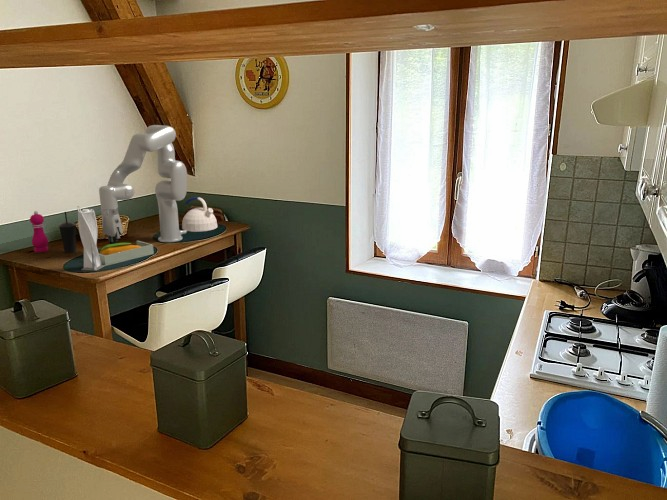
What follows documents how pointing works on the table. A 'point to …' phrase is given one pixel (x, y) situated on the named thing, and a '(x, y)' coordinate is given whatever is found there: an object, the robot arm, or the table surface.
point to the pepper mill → (38, 233)
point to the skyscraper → (89, 239)
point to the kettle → (199, 218)
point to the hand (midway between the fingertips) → (113, 249)
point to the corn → (117, 248)
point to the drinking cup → (68, 236)
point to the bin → (127, 254)
